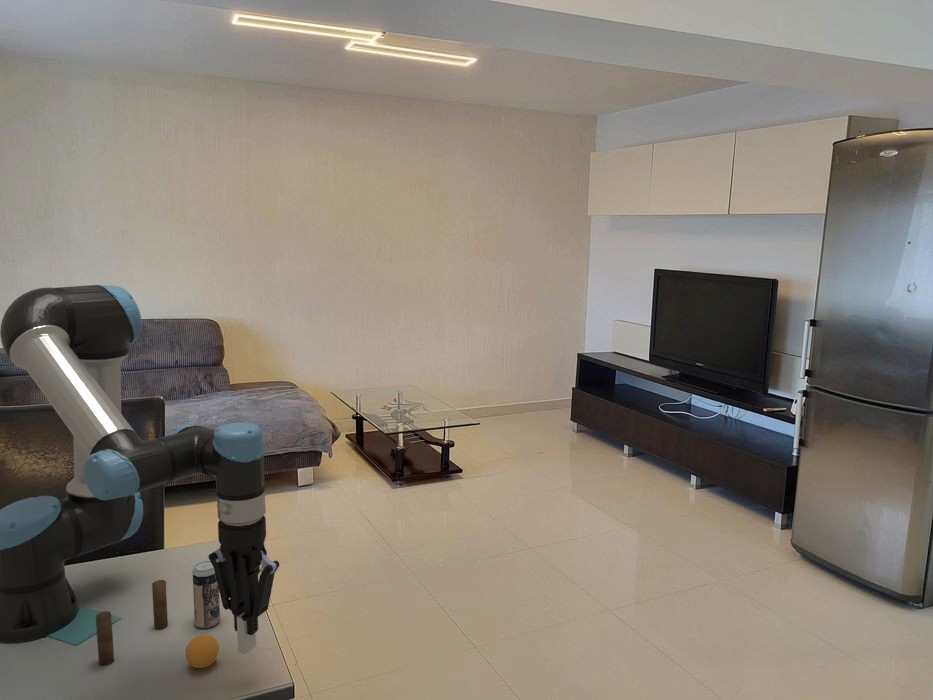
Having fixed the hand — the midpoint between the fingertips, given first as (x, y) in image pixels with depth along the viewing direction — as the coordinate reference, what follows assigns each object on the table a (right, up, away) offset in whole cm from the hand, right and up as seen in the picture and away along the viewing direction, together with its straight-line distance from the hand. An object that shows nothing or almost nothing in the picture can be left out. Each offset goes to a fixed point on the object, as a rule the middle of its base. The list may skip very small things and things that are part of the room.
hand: (247, 649), depth 118 cm
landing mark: (-37, -2, +16) cm, 40 cm away
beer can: (-13, -3, +18) cm, 22 cm away
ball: (-9, -2, +4) cm, 10 cm away
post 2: (-22, -3, +16) cm, 27 cm away
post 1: (-26, -4, +5) cm, 27 cm away
